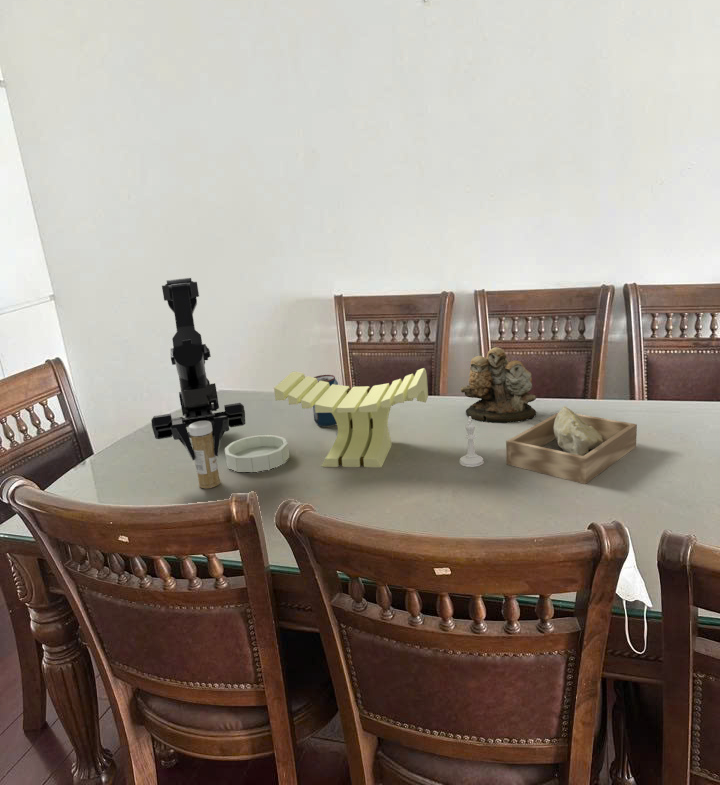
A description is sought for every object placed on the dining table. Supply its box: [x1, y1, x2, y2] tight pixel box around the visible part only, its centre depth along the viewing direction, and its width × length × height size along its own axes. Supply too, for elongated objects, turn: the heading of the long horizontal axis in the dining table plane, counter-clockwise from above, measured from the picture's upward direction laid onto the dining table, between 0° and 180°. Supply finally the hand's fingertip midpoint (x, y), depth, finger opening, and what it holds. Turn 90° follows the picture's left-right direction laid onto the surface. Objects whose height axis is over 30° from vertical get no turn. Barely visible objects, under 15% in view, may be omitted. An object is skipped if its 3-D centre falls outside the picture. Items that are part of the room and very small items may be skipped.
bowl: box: [224, 434, 290, 473], centre depth 149 cm, size 14×14×4 cm
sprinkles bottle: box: [188, 421, 221, 489], centre depth 137 cm, size 5×5×13 cm
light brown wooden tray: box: [505, 411, 638, 485], centre depth 137 cm, size 17×22×5 cm
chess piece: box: [459, 416, 485, 468], centre depth 137 cm, size 5×5×10 cm
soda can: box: [312, 374, 339, 428], centre depth 169 cm, size 7×7×12 cm
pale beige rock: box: [554, 406, 604, 456], centre depth 138 cm, size 15×7×15 cm
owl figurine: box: [460, 346, 537, 424], centre depth 163 cm, size 18×12×17 cm, turn 75°
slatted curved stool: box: [273, 367, 429, 468], centre depth 147 cm, size 30×16×18 cm, turn 78°
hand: (205, 457), depth 136 cm, fingers closed on sprinkles bottle, 4 cm apart
